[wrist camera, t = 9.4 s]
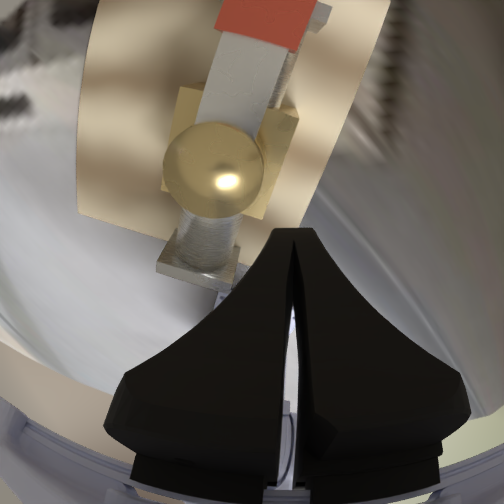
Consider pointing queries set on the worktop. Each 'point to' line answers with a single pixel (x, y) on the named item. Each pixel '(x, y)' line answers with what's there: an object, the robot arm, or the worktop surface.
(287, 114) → the valve
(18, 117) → the worktop surface
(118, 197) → the board
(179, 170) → the lever
